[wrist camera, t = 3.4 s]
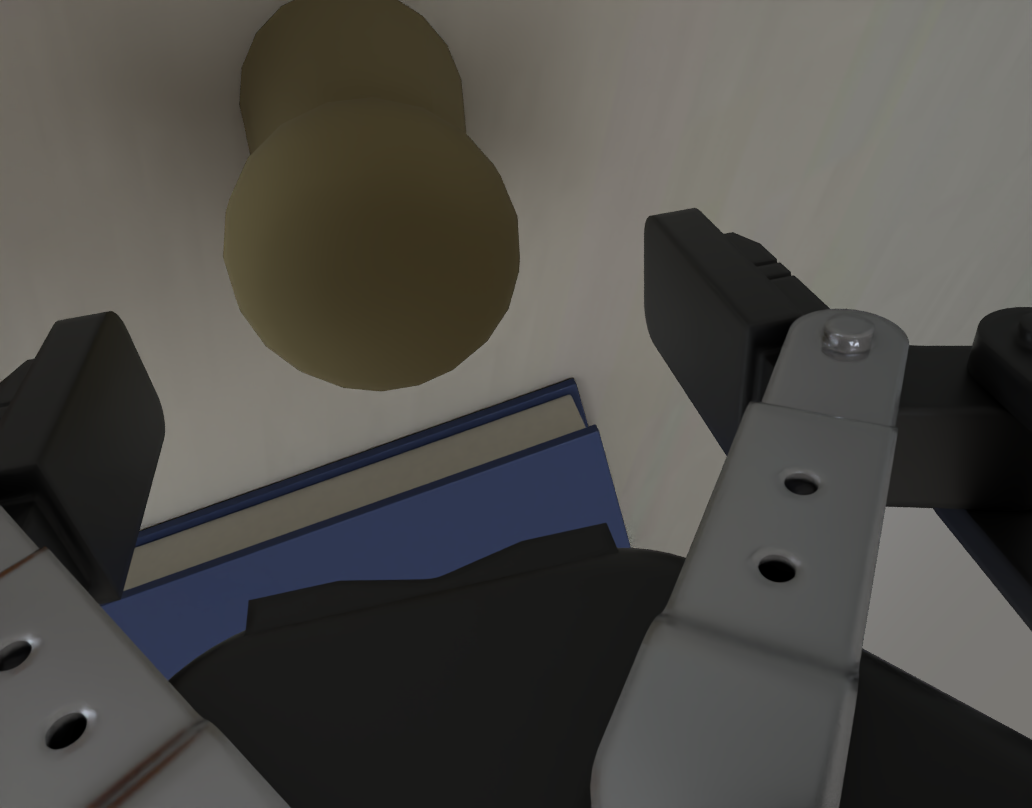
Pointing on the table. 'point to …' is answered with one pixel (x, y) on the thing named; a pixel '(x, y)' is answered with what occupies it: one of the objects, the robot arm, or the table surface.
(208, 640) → the book
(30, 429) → the robot arm
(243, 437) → the table surface
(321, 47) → the cork
